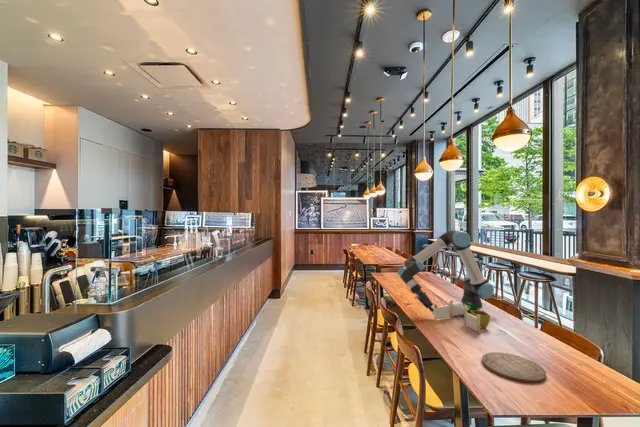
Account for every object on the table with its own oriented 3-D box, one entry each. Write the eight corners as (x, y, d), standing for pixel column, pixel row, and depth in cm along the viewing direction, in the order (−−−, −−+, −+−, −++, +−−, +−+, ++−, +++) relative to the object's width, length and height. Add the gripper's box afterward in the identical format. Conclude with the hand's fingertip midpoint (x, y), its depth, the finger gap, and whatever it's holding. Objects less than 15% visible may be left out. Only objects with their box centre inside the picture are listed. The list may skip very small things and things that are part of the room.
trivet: (516, 388, 120) (516, 383, 120) (469, 359, 144) (470, 355, 144) (560, 379, 127) (560, 375, 127) (508, 353, 151) (508, 349, 151)
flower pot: (484, 324, 191) (484, 310, 191) (490, 329, 182) (490, 315, 182) (470, 323, 191) (470, 310, 192) (475, 328, 183) (475, 314, 183)
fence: (449, 317, 203) (449, 300, 203) (453, 317, 203) (453, 300, 203) (478, 333, 175) (478, 314, 175) (482, 333, 175) (482, 313, 176)
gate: (448, 316, 202) (448, 302, 202) (449, 317, 200) (449, 303, 201) (433, 319, 197) (433, 304, 197) (435, 319, 196) (435, 305, 196)
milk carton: (472, 313, 213) (444, 313, 213) (471, 301, 214) (444, 301, 214) (478, 317, 204) (450, 316, 204) (478, 304, 205) (449, 303, 205)
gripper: (413, 287, 217) (435, 315, 207) (406, 290, 207) (429, 320, 196) (421, 281, 214) (443, 309, 203) (413, 284, 204) (437, 314, 193)
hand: (436, 314), depth 200 cm, fingers closed
